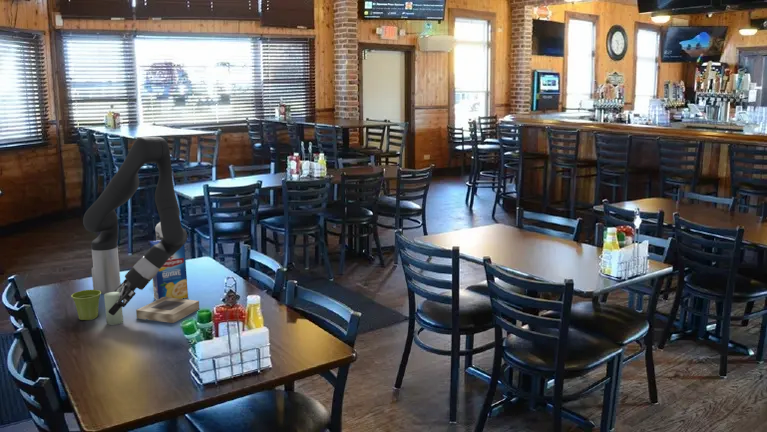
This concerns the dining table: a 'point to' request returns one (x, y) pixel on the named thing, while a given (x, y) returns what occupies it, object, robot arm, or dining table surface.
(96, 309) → the plant pot
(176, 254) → the beverage box
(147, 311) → the birch base
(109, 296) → the sage post
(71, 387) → the dining table surface
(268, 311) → the dining table surface
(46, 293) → the dining table surface
